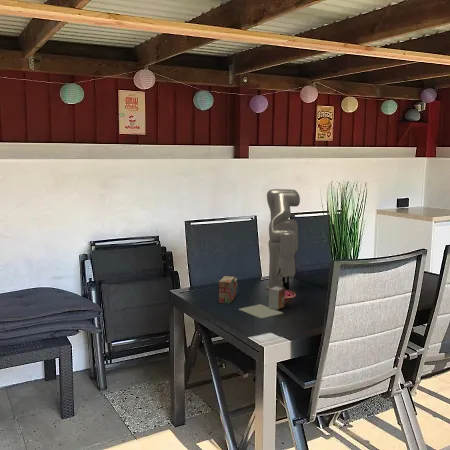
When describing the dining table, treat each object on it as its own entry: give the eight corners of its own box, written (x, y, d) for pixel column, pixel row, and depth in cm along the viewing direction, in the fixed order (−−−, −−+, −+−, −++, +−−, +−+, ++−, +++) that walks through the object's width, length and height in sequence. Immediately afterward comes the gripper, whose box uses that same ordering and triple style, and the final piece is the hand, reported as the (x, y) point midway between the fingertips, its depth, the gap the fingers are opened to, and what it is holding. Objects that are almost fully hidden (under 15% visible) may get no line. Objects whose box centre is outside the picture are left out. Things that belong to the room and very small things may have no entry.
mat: (260, 304, 270) (260, 304, 270) (283, 313, 256) (283, 312, 256) (238, 309, 261) (238, 308, 261) (261, 318, 247) (261, 318, 247)
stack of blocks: (227, 292, 293) (227, 272, 292) (237, 293, 292) (238, 272, 290) (218, 303, 273) (218, 281, 271) (229, 304, 271) (230, 281, 270)
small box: (277, 310, 261) (278, 290, 259) (268, 308, 263) (269, 288, 262) (284, 306, 267) (285, 287, 266) (275, 304, 270) (276, 285, 269)
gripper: (292, 252, 273) (290, 285, 275) (271, 255, 264) (270, 289, 266) (302, 254, 267) (300, 288, 269) (281, 258, 258) (280, 292, 260)
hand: (285, 289), depth 268 cm, fingers closed
